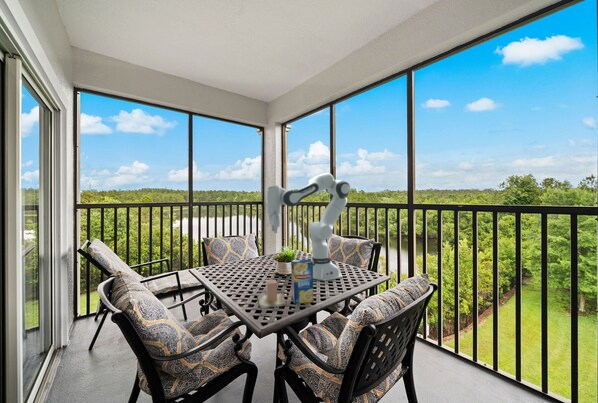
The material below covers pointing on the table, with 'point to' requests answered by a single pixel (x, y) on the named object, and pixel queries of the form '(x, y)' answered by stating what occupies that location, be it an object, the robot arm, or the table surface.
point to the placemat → (265, 304)
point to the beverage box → (302, 281)
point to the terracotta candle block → (271, 290)
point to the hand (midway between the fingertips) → (274, 232)
